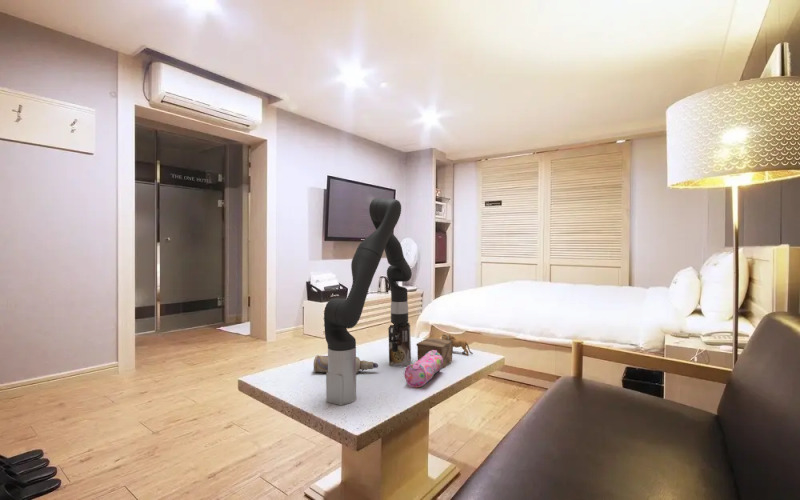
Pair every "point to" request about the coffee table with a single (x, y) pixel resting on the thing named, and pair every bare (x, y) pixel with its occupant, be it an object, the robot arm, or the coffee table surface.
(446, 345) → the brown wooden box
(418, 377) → the pencil case
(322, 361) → the decorative bottle
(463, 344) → the lion figurine
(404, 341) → the coffee box
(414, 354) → the coffee table surface
